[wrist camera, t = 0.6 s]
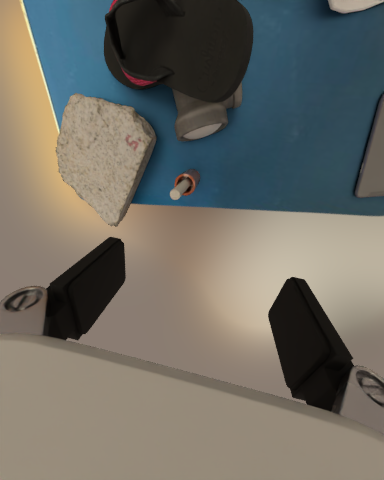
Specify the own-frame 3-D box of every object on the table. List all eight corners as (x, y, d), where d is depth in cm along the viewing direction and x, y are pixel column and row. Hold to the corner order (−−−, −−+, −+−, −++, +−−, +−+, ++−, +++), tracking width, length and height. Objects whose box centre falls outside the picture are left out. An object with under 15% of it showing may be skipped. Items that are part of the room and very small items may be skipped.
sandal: (115, -6, 24) (69, -27, 21) (280, -41, 12) (235, -103, 9) (122, 84, 31) (88, 78, 27) (237, 117, 19) (201, 114, 15)
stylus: (188, 173, 34) (170, 188, 22) (195, 175, 34) (180, 190, 22) (187, 181, 34) (169, 198, 23) (194, 182, 34) (179, 201, 23)
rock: (126, 213, 43) (109, 236, 35) (55, 159, 36) (14, 173, 28) (182, 149, 34) (177, 161, 26) (102, 61, 27) (62, 41, 19)
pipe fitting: (181, 147, 31) (238, 130, 30) (174, 138, 24) (249, 114, 22) (161, 66, 28) (225, 41, 26) (144, 25, 20) (233, -14, 19)
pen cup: (184, 167, 34) (175, 171, 28) (202, 170, 33) (197, 176, 27) (182, 184, 35) (173, 193, 29) (198, 188, 35) (193, 197, 29)
